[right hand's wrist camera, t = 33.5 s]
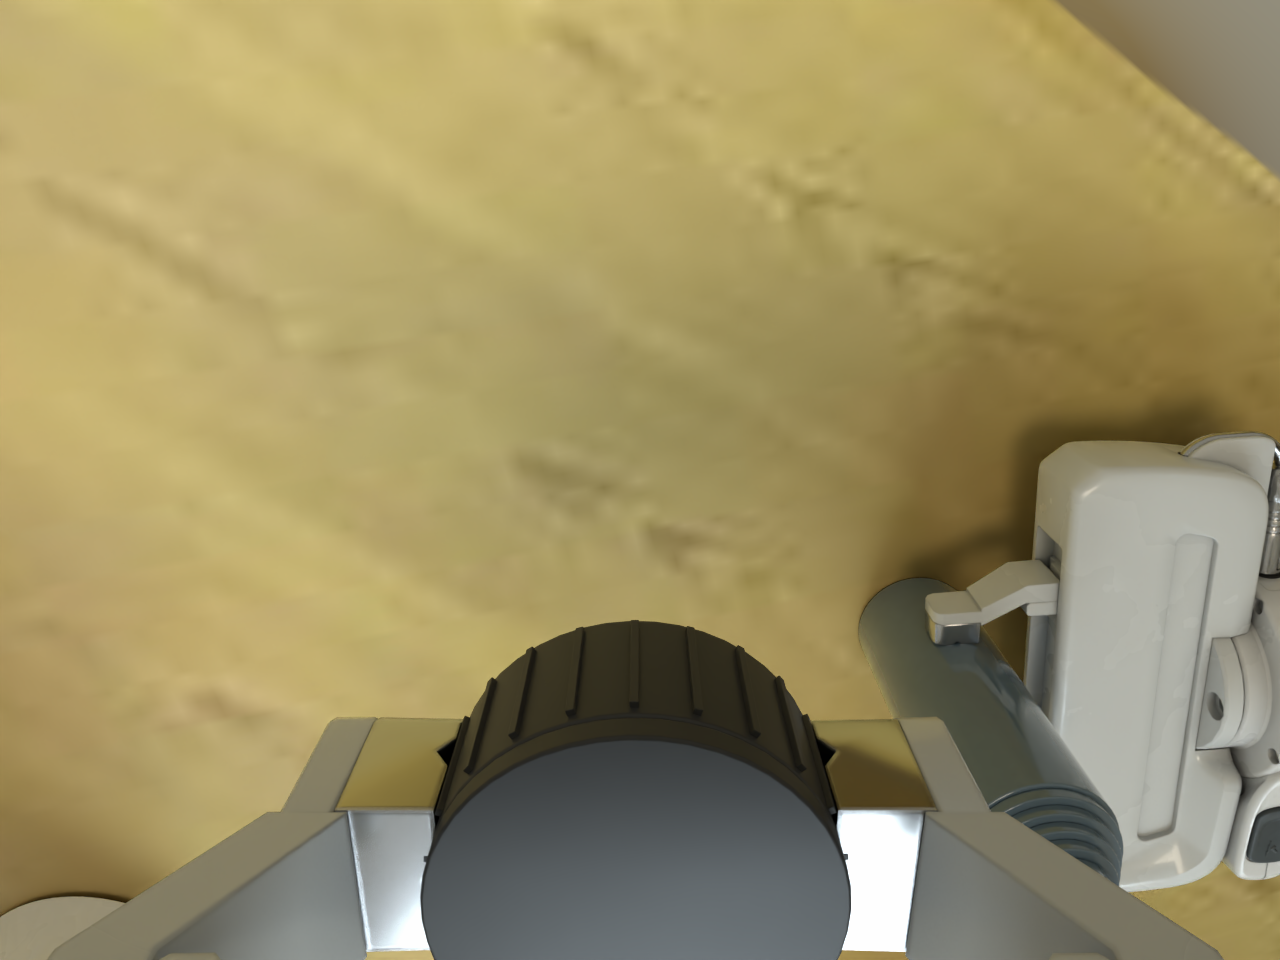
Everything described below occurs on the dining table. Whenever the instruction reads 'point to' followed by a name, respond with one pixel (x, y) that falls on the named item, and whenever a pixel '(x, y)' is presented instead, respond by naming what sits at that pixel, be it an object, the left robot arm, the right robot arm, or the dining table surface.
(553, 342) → the dining table surface
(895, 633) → the bottle
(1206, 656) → the left robot arm
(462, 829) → the cap
